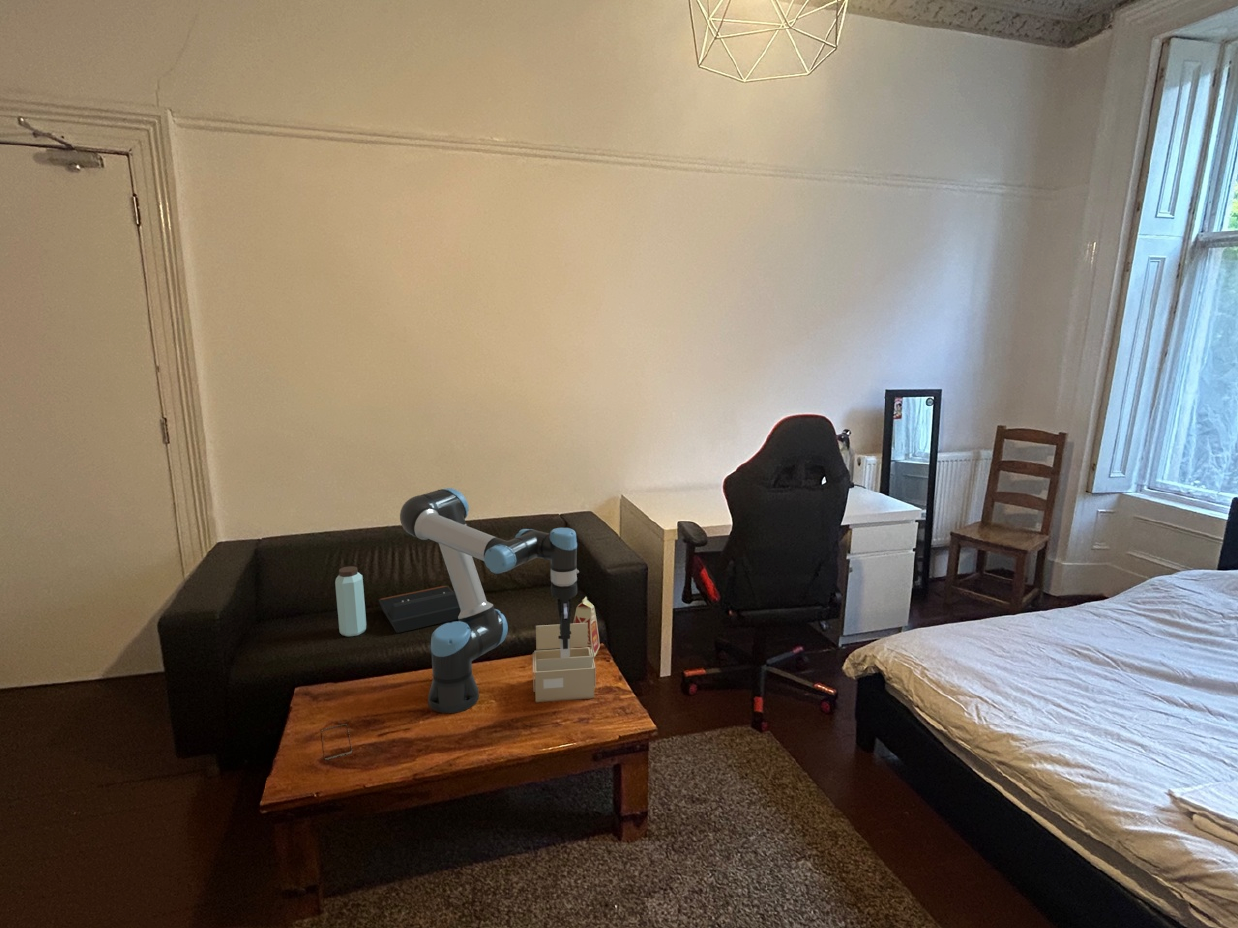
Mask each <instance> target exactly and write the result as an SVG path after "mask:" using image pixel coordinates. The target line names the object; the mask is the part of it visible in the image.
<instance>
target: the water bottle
mask: <svg viewBox="0 0 1238 928" xmlns="http://www.w3.org/2000/svg"><path fill="white" fill-rule="evenodd" d="M338 570H339V571H338V575H337V577H336V578H335V582H334V584H335V596H336V608H337V615H338V616H337V617H338V629H339V634H341V635H342V636H345V637H354V636H359V635H361V634H363V633H365V632H366V630H367V616H366V604H365V592H364V580H363V579H364V577H363V574H361V573H360V572H358V567H357V566H354V565H351V566H344V567H341V568H339V569H338Z"/></svg>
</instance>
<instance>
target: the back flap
mask: <svg viewBox="0 0 1238 928" xmlns="http://www.w3.org/2000/svg"><path fill="white" fill-rule="evenodd" d="M559 627H560V623H559V624H548V625H547V624H546V625H545V624H542V625H535V640H536V641H535V643H536V644H535V645H536V650H535V651H541V650H556V649H560V639H558V636H561V635H560V628H559ZM570 631H571V634H570V649H571V648H572V647H587V646H588V623H574V622H573V623H570Z"/></svg>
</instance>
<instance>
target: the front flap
mask: <svg viewBox="0 0 1238 928" xmlns="http://www.w3.org/2000/svg"><path fill="white" fill-rule="evenodd" d="M593 658H594V657H593V656H579V657H570V658H549V659H537V671H547V670H561V669H576V668H590V667H592V662H593Z"/></svg>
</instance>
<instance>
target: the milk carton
mask: <svg viewBox="0 0 1238 928" xmlns="http://www.w3.org/2000/svg"><path fill="white" fill-rule="evenodd" d="M596 615H597V614H596V609H595V606H594V605H593V603H591V602H590V601H589V600H588V597H587V596H585V597H584V598H583V599H582V600H581V602H580V603H579V604H578V605H577V606H576V608H575V614H574V617H573V624H574V623H588V646H587V647H590V652H591V649H592V654H593V658H595V657H596V655H597V654H598V652H599V649H600V646H601V645H600V636H599V629H598V627H599V626H598V621H597V616H596ZM587 647H572V648H587Z"/></svg>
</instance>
